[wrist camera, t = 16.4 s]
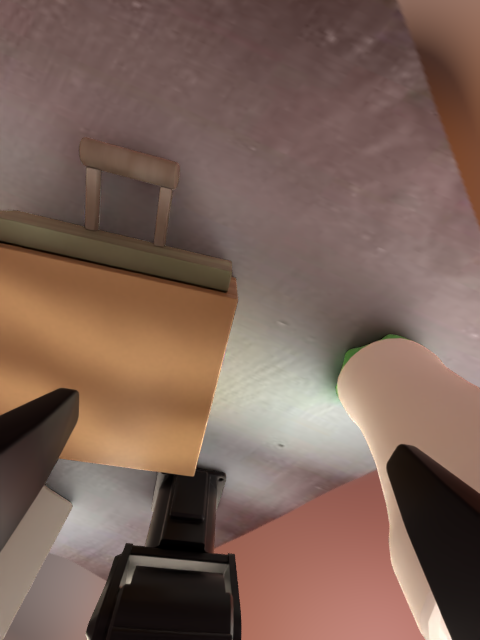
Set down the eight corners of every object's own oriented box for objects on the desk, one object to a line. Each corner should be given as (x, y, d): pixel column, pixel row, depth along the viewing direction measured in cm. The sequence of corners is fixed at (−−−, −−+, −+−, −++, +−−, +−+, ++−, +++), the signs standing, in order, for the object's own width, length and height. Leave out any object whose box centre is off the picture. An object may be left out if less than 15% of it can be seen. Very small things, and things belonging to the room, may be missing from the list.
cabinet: (17, 227, 17) (-58, 233, 13) (236, 277, 19) (238, 299, 14) (28, 399, 22) (-23, 448, 18) (200, 426, 24) (193, 477, 19)
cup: (291, 343, 21) (393, 563, 8) (434, 286, 20) (839, 438, 7) (332, 440, 25) (443, 691, 12) (452, 398, 24) (726, 631, 11)
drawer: (12, 118, 14) (-46, 94, 11) (249, 183, 16) (254, 177, 13) (28, 384, 21) (-6, 414, 18) (197, 412, 22) (192, 444, 19)
